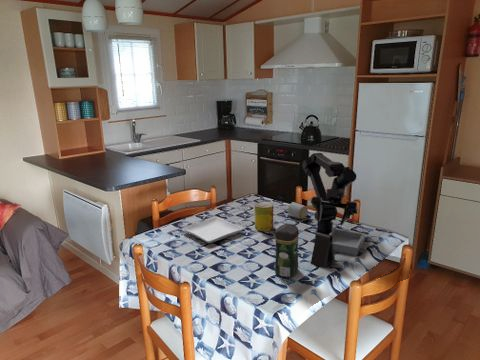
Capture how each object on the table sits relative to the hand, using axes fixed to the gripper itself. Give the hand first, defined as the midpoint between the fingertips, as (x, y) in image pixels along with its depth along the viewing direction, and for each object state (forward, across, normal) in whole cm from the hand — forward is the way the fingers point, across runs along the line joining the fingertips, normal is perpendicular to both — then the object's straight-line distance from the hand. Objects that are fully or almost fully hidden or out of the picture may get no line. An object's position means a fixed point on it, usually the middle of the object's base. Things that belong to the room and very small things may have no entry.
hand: (329, 223), depth 152 cm
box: (+2, +4, +17) cm, 18 cm away
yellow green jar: (0, -36, +20) cm, 41 cm away
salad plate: (+12, -55, +8) cm, 57 cm away
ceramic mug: (-15, -26, +35) cm, 46 cm away
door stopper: (+15, 0, +4) cm, 16 cm away
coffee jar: (+25, -10, -6) cm, 28 cm away
